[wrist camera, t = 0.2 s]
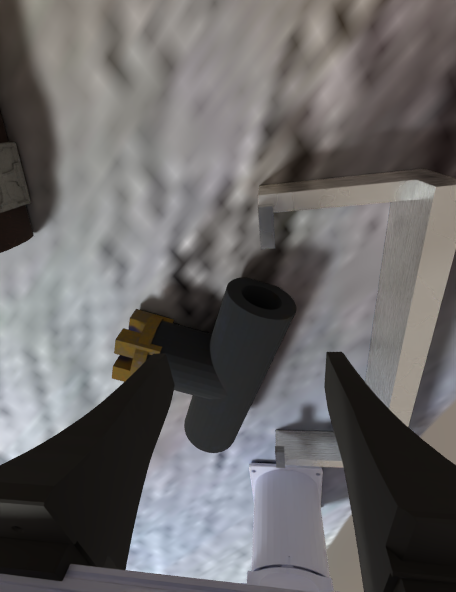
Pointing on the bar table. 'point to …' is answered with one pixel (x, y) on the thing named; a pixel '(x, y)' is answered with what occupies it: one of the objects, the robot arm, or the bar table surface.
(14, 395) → the bar table surface
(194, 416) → the pipe connector
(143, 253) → the bar table surface
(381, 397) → the white long box
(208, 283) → the bar table surface
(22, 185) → the book
